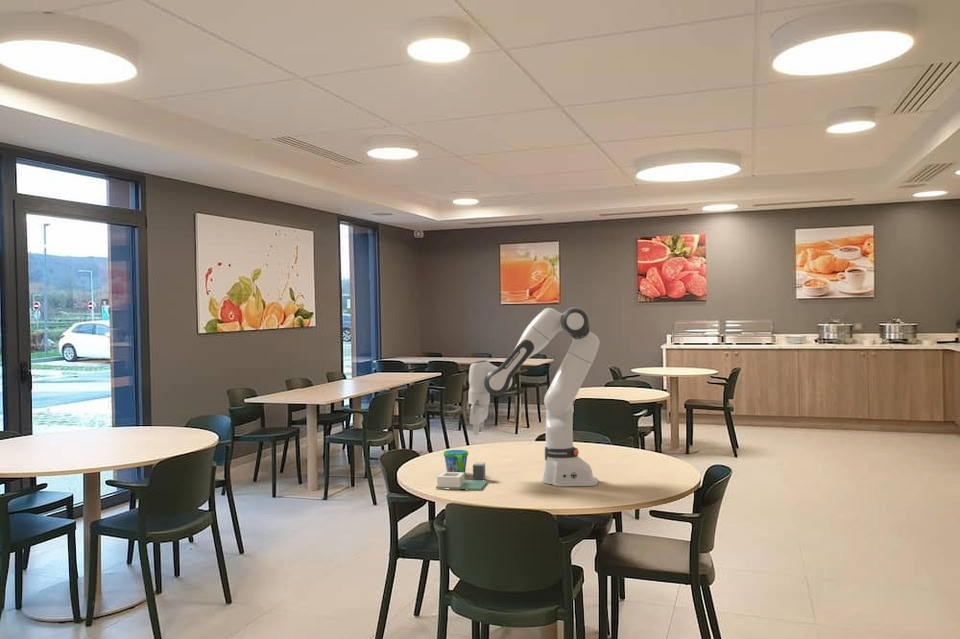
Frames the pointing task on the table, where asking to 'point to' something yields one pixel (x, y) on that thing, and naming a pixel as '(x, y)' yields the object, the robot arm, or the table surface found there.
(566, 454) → the robot arm
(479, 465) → the plug
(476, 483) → the header board
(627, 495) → the table surface
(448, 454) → the snack cup
